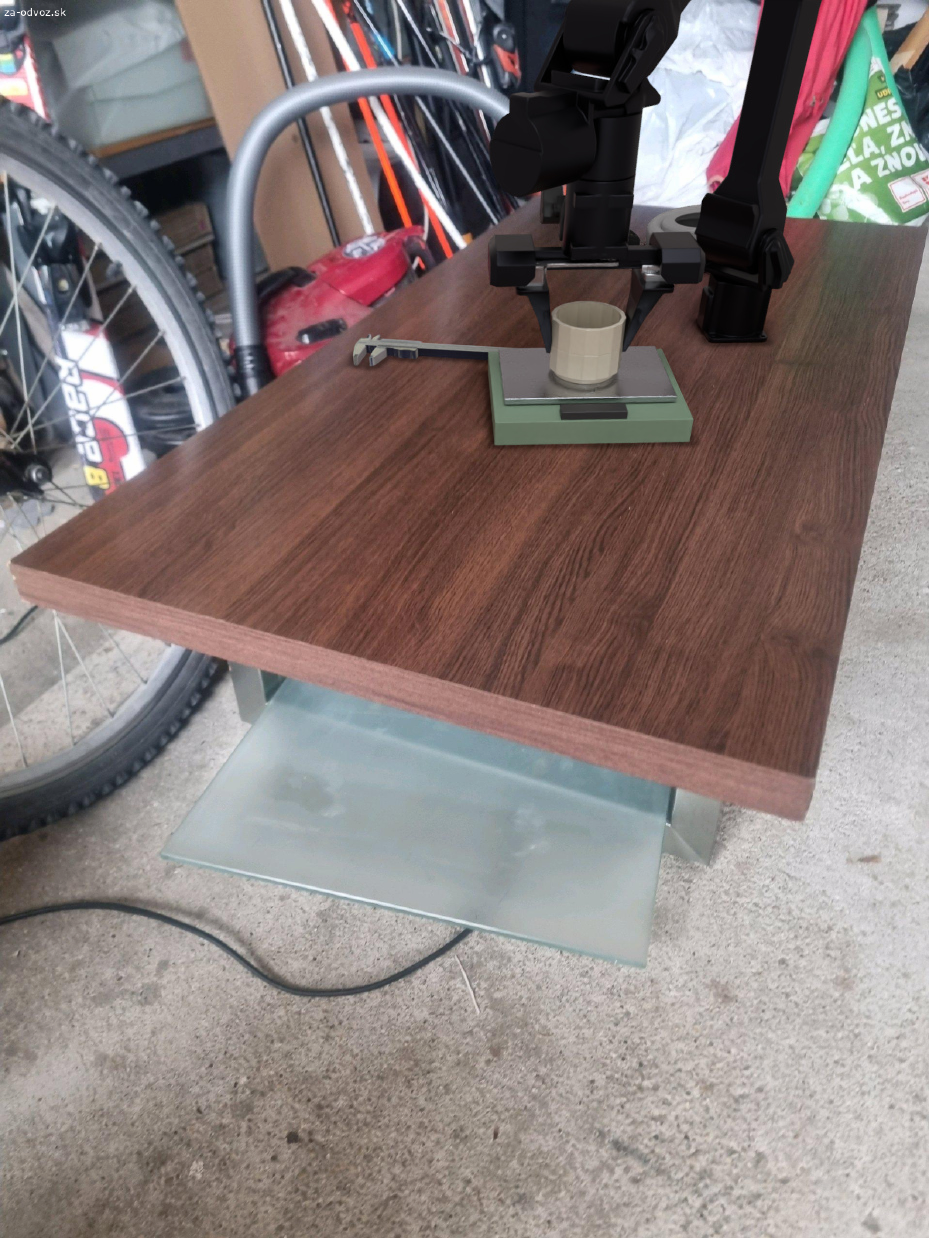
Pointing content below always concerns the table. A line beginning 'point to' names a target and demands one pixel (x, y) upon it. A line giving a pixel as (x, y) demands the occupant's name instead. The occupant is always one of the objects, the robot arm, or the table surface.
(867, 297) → the table surface
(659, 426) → the scale
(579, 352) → the cup
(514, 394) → the scale pan
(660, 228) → the grey donut ring
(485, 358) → the caliper
